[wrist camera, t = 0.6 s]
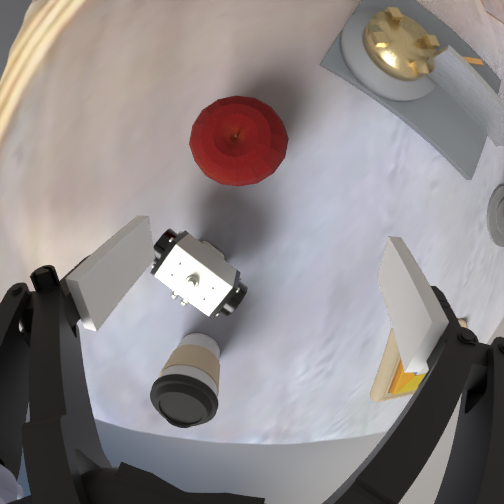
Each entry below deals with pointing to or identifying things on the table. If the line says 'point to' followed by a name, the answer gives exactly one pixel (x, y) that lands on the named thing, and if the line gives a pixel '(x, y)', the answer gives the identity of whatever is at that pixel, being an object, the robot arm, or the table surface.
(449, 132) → the grey flat slab
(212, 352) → the coffee cup
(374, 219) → the table surface
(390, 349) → the wooden puzzle
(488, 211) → the mate gourd
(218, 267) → the pneumatic valve
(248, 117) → the apple
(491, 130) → the two-tone lugged fixture
